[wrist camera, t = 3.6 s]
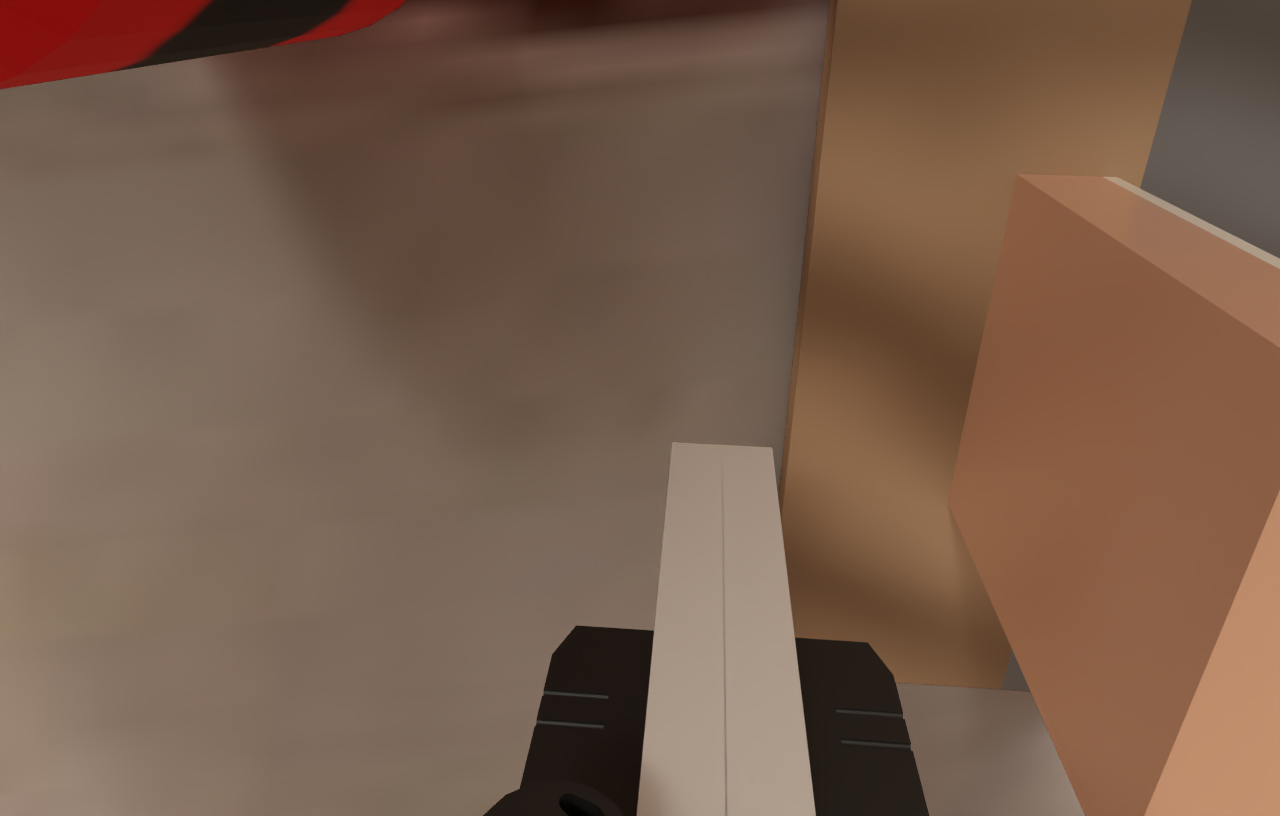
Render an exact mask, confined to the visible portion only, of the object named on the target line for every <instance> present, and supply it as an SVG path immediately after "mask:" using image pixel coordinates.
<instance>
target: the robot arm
mask: <svg viewBox="0 0 1280 816" xmlns="http://www.w3.org/2000/svg"><path fill="white" fill-rule="evenodd" d="M910 744H911V742H910V738H909V735H908V731H907V727H906V723H905V719H903V711H902V707H901V703H900V699H899V695H898V691H897V687H896V683H895V679H894V675H893V674H892V673H891V671H890V670H889V669H888V667H887V666H886V665H885V664H884V662H883V661H882V660H881V659H880V657H879V656H878V655H877V653H876V652H875V651H874V650H873V648H872V647H871V646H870V644H869V643H868V642H855V641H840V640H825V639H810V638H795V635H794V627H793V619H792V610H791V602H790V593H789V585H788V576H787V568H786V559H785V551H784V543H783V534H782V526H781V517H780V509H779V500H778V492H777V484H776V475H775V467H774V458H773V450H772V447H755V446H736V445H717V444H698V443H679V442H672V449H671V460H670V470H669V481H668V491H667V502H666V512H665V523H664V533H663V544H662V554H661V565H660V575H659V586H658V596H657V607H656V617H655V628H654V631H650V630H635V629H620V628H605V627H590V626H576V627H575V628H574V629H573V630H572V631H571V633H570V634H569V635H568V636H567V637H566V639H565V640H564V641H563V642H562V643H561V645H560V646H559V647H558V648H557V649H556V650H555V652H554V653H553V654H552V658H551V662H550V666H549V670H548V674H547V678H546V683H545V687H544V695H543V696H542V699H541V703H540V707H539V711H538V716H537V724H536V726H535V728H534V732H533V736H532V740H531V744H530V749H529V753H528V757H527V761H526V765H525V769H524V773H523V777H522V782H521V786H520V789H518V790H516V791H514V792H512V793H509V794H507V795H505V796H504V797H503V798H502V799H501V800H500V801H499V802H497V803H496V804H495V805H494V806H493V807H492V808H491V809H490V810H489V811H488V812H487V813H485V814H484V815H483V816H929V813H928V809H927V806H926V802H925V798H924V794H923V790H922V786H921V782H920V778H919V774H918V770H917V766H916V762H915V758H914V754H913V751H911V748H910Z"/></svg>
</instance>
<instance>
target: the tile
mask: <svg viewBox="0 0 1280 816" xmlns="http://www.w3.org/2000/svg"><path fill="white" fill-rule="evenodd" d="M948 504H949V507H950V509H951V511H952V514H953V516H954V518H955V520H956V523H957V525H958V527H959V530H960V532H961V534H962V536H963V539H964V541H965V543H966V545H967V548H968V550H969V552H970V555H971V557H972V559H973V561H974V564H975V566H976V568H977V570H978V573H979V575H980V577H981V580H982V582H983V584H984V586H985V589H986V591H987V593H988V595H989V598H990V600H991V602H992V605H993V607H994V609H995V611H996V614H997V616H998V618H999V621H1000V623H1001V625H1002V627H1003V630H1004V632H1005V634H1006V636H1007V639H1008V641H1009V643H1010V646H1011V648H1012V650H1013V652H1014V655H1015V657H1016V659H1017V661H1018V664H1019V666H1020V668H1021V671H1022V673H1023V675H1024V677H1025V680H1026V682H1027V684H1028V686H1029V689H1030V691H1031V693H1032V696H1033V698H1034V700H1035V702H1036V705H1037V707H1038V709H1039V712H1040V714H1041V716H1042V718H1043V721H1044V723H1045V725H1046V727H1047V730H1048V732H1049V734H1050V737H1051V739H1052V741H1053V743H1054V746H1055V748H1056V750H1057V752H1058V755H1059V757H1060V759H1061V762H1062V764H1063V766H1064V768H1065V771H1066V773H1067V775H1068V777H1069V780H1070V782H1071V784H1072V787H1073V789H1074V791H1075V793H1076V796H1077V798H1078V800H1079V803H1080V805H1081V807H1082V809H1083V812H1084V814H1085V816H1280V258H1278V257H1276V256H1274V255H1272V254H1270V253H1268V252H1266V251H1264V250H1262V249H1260V248H1258V247H1256V246H1254V245H1252V244H1250V243H1248V242H1246V241H1244V240H1242V239H1240V238H1238V237H1236V236H1234V235H1232V234H1230V233H1228V232H1226V231H1224V230H1222V229H1220V228H1218V227H1216V226H1214V225H1212V224H1210V223H1208V222H1206V221H1204V220H1202V219H1200V218H1198V217H1196V216H1194V215H1192V214H1190V213H1188V212H1186V211H1184V210H1182V209H1180V208H1178V207H1176V206H1174V205H1172V204H1170V203H1168V202H1166V201H1164V200H1162V199H1160V198H1158V197H1156V196H1154V195H1152V194H1150V193H1148V192H1146V191H1144V190H1142V189H1140V188H1138V187H1136V186H1134V185H1132V184H1130V183H1128V182H1126V181H1124V180H1122V179H1120V178H1118V177H1095V176H1062V175H1029V174H1017V175H1016V180H1015V185H1014V189H1013V194H1012V199H1011V204H1010V208H1009V213H1008V218H1007V223H1006V227H1005V232H1004V237H1003V242H1002V246H1001V251H1000V256H999V261H998V265H997V270H996V275H995V280H994V284H993V289H992V294H991V299H990V303H989V308H988V313H987V318H986V322H985V327H984V332H983V337H982V341H981V346H980V351H979V356H978V360H977V365H976V370H975V375H974V379H973V384H972V389H971V394H970V398H969V403H968V408H967V413H966V417H965V422H964V427H963V432H962V436H961V441H960V446H959V451H958V455H957V460H956V465H955V470H954V474H953V479H952V484H951V489H950V493H949V498H948Z"/></svg>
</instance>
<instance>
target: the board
mask: <svg viewBox="0 0 1280 816" xmlns="http://www.w3.org/2000/svg"><path fill="white" fill-rule="evenodd" d="M1017 174H1029V175H1062V176H1095V177H1118V178H1120V179H1122V180H1124V181H1126V182H1128V183H1130V184H1132V185H1134V186H1136V187H1138V188H1140V189H1142V190H1144V191H1146V192H1148V193H1150V194H1152V195H1154V196H1156V197H1158V198H1160V199H1162V200H1164V201H1166V202H1168V203H1170V204H1172V205H1174V206H1176V207H1178V208H1180V209H1182V210H1184V211H1186V212H1188V213H1190V214H1192V215H1194V216H1196V217H1198V218H1200V219H1202V220H1204V221H1206V222H1208V223H1210V224H1212V225H1214V226H1216V227H1218V228H1220V229H1222V230H1224V231H1226V232H1228V233H1230V234H1232V235H1234V236H1236V237H1238V238H1240V239H1242V240H1244V241H1246V242H1248V243H1250V244H1252V245H1254V246H1256V247H1258V248H1260V249H1262V250H1264V251H1266V252H1268V253H1270V254H1272V255H1274V256H1276V257H1278V258H1280V0H830V7H829V17H828V26H827V36H826V46H825V55H824V65H823V74H822V84H821V94H820V103H819V113H818V122H817V132H816V142H815V151H814V161H813V171H812V180H811V190H810V199H809V209H808V219H807V228H806V238H805V247H804V257H803V267H802V276H801V286H800V296H799V305H798V315H797V324H796V334H795V344H794V353H793V363H792V372H791V382H790V392H789V401H788V411H787V421H786V430H785V440H784V449H783V459H782V469H781V478H780V488H779V498H778V500H779V509H780V517H781V526H782V534H783V543H784V551H785V559H786V568H787V576H788V585H789V593H790V602H791V610H792V619H793V627H794V635H795V638H810V639H825V640H840V641H855V642H868V643H869V644H870V646H871V647H872V648H873V650H874V651H875V652H876V653H877V655H878V656H879V657H880V659H881V660H882V661H883V662H884V664H885V665H886V666H887V667H888V669H889V670H890V671H891V673H892V674H893V675H894V679H895V682H898V683H912V684H927V685H942V686H956V687H971V688H986V689H1000V690H1015V691H1030V689H1029V686H1028V684H1027V682H1026V680H1025V677H1024V675H1023V673H1022V671H1021V668H1020V666H1019V664H1018V661H1017V659H1016V657H1015V655H1014V652H1013V650H1012V648H1011V646H1010V643H1009V641H1008V639H1007V636H1006V634H1005V632H1004V630H1003V627H1002V625H1001V623H1000V621H999V618H998V616H997V614H996V611H995V609H994V607H993V605H992V602H991V600H990V598H989V595H988V593H987V591H986V589H985V586H984V584H983V582H982V580H981V577H980V575H979V573H978V570H977V568H976V566H975V564H974V561H973V559H972V557H971V555H970V552H969V550H968V548H967V545H966V543H965V541H964V539H963V536H962V534H961V532H960V530H959V527H958V525H957V523H956V520H955V518H954V516H953V514H952V511H951V509H950V507H949V504H948V498H949V493H950V489H951V484H952V479H953V474H954V470H955V465H956V460H957V455H958V451H959V446H960V441H961V436H962V432H963V427H964V422H965V417H966V413H967V408H968V403H969V398H970V394H971V389H972V384H973V379H974V375H975V370H976V365H977V360H978V356H979V351H980V346H981V341H982V337H983V332H984V327H985V322H986V318H987V313H988V308H989V303H990V299H991V294H992V289H993V284H994V280H995V275H996V270H997V265H998V261H999V256H1000V251H1001V246H1002V242H1003V237H1004V232H1005V227H1006V223H1007V218H1008V213H1009V208H1010V204H1011V199H1012V194H1013V189H1014V185H1015V180H1016V175H1017ZM1030 692H1031V691H1030Z"/></svg>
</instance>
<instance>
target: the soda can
mask: <svg viewBox="0 0 1280 816" xmlns="http://www.w3.org/2000/svg"><path fill="white" fill-rule="evenodd" d="M405 1H406V0H0V89H5V88H11V87H17V86H24V85H30V84H36V83H43V82H49V81H55V80H62V79H68V78H74V77H81V76H87V75H93V74H100V73H106V72H112V71H119V70H125V69H131V68H138V67H144V66H150V65H157V64H163V63H169V62H176V61H182V60H188V59H195V58H201V57H207V56H214V55H220V54H226V53H233V52H239V51H245V50H252V49H258V48H264V47H271V46H277V45H283V44H290V43H296V42H302V41H309V40H315V39H321V38H328V37H334V36H340V35H343V34H346V33H349V32H352V31H355V30H358V29H361V28H364V27H367V26H370V25H372V24H373V23H375V22H376V21H378V20H380V19H381V18H383V17H384V16H386V15H388V14H389V13H391V12H392V11H394V10H396V9H397V8H399V7H400V6H401V5H402V4H403V3H404V2H405Z"/></svg>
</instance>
